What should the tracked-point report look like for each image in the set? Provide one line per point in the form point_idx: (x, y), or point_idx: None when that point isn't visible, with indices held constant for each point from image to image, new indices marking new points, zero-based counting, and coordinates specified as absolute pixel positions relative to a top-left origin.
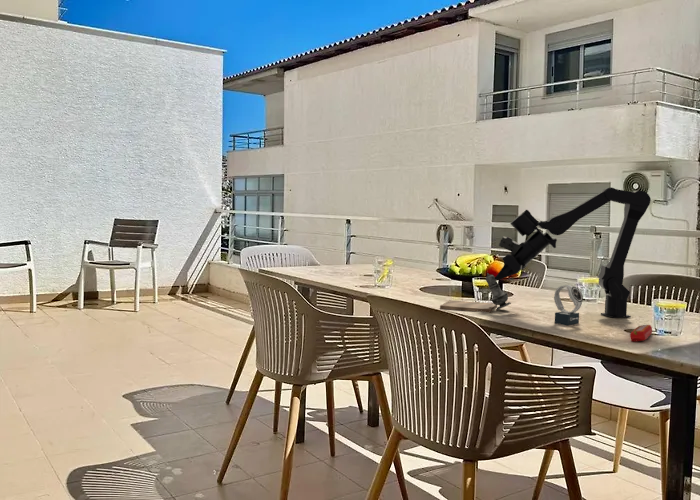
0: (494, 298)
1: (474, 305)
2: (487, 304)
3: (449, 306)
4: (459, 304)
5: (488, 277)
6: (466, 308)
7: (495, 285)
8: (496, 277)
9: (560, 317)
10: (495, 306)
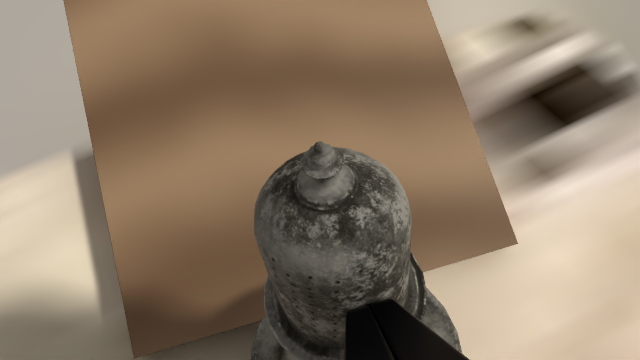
0: (265, 340)
1: (260, 146)
2: None
3: (69, 23)
4: (224, 33)
5: (259, 219)
6: (96, 155)
7: (286, 348)
8: (347, 347)
9: None
10: (424, 271)
